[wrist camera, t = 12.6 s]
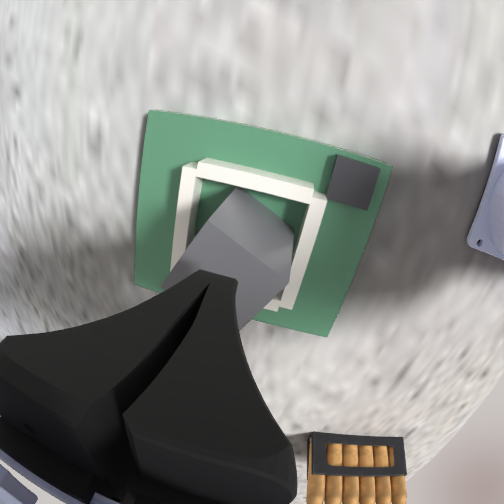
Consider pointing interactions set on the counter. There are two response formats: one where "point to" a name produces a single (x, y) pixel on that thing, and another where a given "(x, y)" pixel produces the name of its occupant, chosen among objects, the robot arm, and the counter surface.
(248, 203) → the plug
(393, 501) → the ammunition clip
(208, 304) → the robot arm
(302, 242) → the board
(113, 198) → the counter surface
